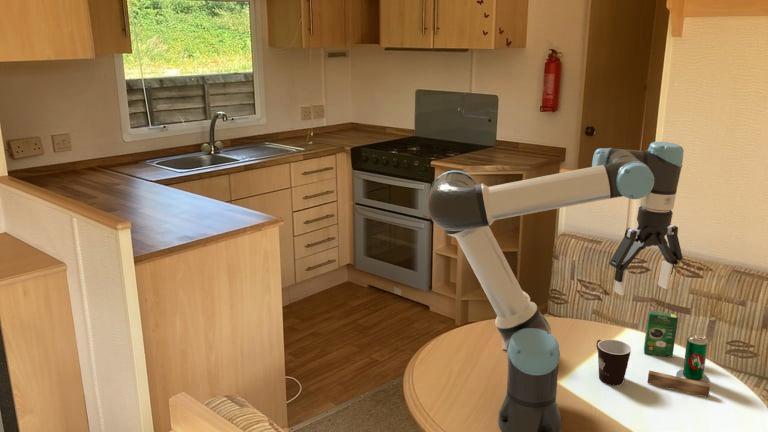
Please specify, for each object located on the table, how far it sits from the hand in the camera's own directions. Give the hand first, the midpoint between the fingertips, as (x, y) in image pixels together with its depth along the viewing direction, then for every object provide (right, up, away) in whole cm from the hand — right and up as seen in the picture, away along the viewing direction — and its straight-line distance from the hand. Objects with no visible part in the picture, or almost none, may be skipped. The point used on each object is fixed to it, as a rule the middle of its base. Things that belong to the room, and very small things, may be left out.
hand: (641, 290), depth 158 cm
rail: (+15, -28, +14) cm, 35 cm away
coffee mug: (0, -27, +20) cm, 34 cm away
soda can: (+21, -26, +18) cm, 38 cm away
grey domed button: (+21, -27, +18) cm, 39 cm away
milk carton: (-23, -22, +38) cm, 50 cm away
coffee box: (+18, -23, +32) cm, 44 cm away
